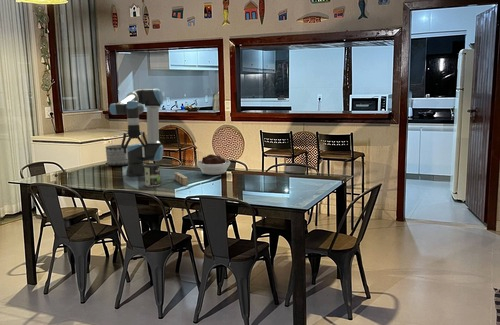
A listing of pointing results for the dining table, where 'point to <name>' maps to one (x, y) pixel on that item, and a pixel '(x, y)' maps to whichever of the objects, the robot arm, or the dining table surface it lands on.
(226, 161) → the bowl of brown food
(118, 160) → the planter
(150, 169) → the coffee can
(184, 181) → the board
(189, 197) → the dining table surface
